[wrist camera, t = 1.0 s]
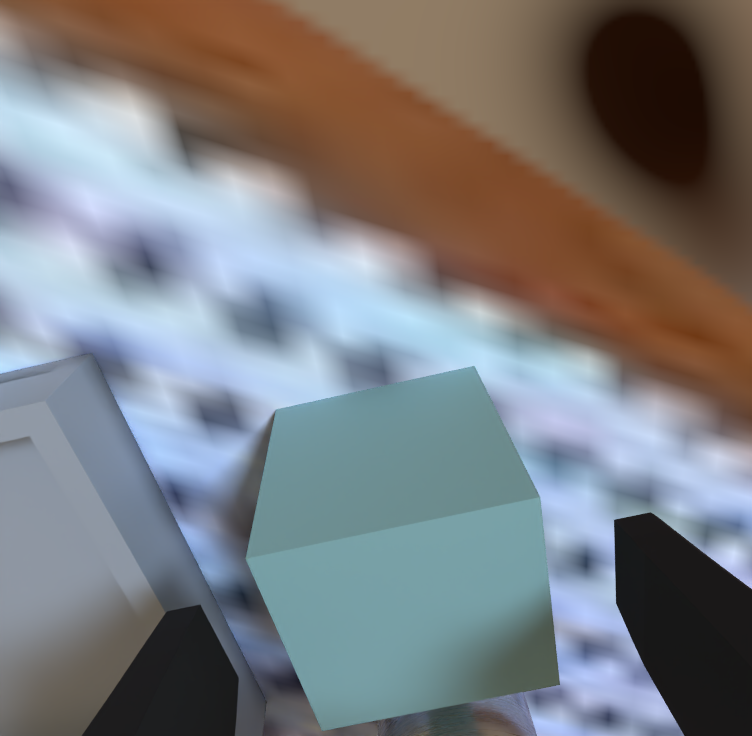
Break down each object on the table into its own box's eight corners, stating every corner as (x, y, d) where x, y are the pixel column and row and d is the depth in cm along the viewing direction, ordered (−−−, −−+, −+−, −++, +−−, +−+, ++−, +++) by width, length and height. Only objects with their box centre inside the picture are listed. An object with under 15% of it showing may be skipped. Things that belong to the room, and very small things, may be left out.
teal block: (497, 517, 14) (559, 684, 10) (326, 552, 14) (322, 730, 10) (473, 364, 12) (540, 496, 8) (276, 408, 12) (245, 558, 8)
